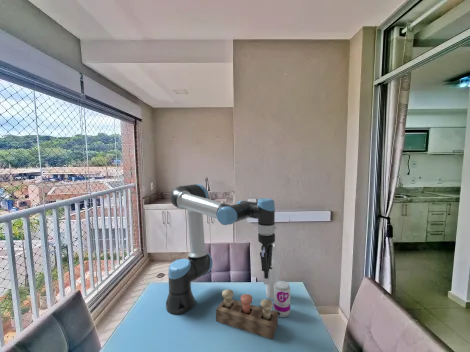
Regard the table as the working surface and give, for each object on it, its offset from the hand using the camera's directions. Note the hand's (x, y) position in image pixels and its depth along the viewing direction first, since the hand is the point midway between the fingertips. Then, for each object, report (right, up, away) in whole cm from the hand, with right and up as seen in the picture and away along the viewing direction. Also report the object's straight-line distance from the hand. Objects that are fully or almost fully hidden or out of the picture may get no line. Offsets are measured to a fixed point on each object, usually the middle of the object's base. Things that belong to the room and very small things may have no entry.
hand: (267, 283), depth 100 cm
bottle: (+7, -20, +27) cm, 34 cm away
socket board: (-9, -21, +6) cm, 24 cm away
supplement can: (+9, -21, +12) cm, 26 cm away
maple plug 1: (-18, -15, +9) cm, 26 cm away
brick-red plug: (-9, -16, +5) cm, 19 cm away
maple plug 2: (0, -16, +1) cm, 16 cm away
